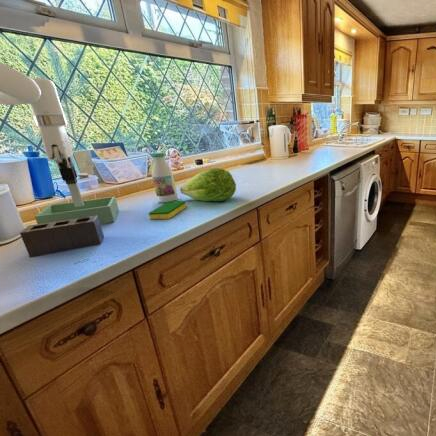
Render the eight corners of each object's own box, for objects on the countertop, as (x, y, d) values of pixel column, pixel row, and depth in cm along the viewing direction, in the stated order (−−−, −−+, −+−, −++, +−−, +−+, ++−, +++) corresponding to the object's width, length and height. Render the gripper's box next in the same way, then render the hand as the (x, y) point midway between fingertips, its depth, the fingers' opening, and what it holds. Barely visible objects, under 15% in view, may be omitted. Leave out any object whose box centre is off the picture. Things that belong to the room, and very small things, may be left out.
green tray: (41, 233, 96) (34, 216, 94) (54, 220, 108) (49, 205, 106) (114, 221, 104) (109, 206, 102) (119, 210, 116) (115, 196, 114)
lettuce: (200, 195, 138) (187, 167, 131) (244, 191, 129) (232, 161, 123) (178, 211, 126) (162, 181, 119) (225, 208, 117) (210, 176, 111)
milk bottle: (162, 198, 132) (151, 151, 125) (180, 197, 132) (171, 151, 126) (154, 203, 124) (143, 154, 118) (174, 202, 125) (163, 153, 118)
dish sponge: (187, 206, 118) (185, 200, 117) (169, 218, 105) (168, 212, 104) (169, 207, 118) (167, 201, 117) (149, 219, 105) (147, 212, 104)
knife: (74, 207, 103) (59, 163, 98) (75, 205, 105) (61, 162, 100) (83, 206, 104) (69, 162, 99) (85, 204, 106) (70, 161, 101)
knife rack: (29, 257, 80) (19, 232, 77) (37, 248, 85) (28, 225, 82) (100, 244, 86) (93, 221, 84) (104, 236, 91) (97, 215, 89)
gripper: (44, 121, 100) (62, 176, 106) (26, 123, 86) (48, 185, 93) (72, 120, 103) (88, 173, 109) (59, 121, 90) (78, 182, 96)
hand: (70, 178), depth 101 cm, fingers closed on knife, 2 cm apart
